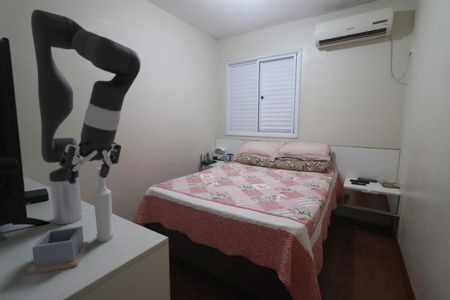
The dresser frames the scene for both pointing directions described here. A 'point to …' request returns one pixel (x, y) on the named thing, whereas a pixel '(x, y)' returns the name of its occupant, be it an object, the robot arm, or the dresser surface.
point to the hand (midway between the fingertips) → (87, 179)
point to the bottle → (103, 210)
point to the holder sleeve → (58, 250)
